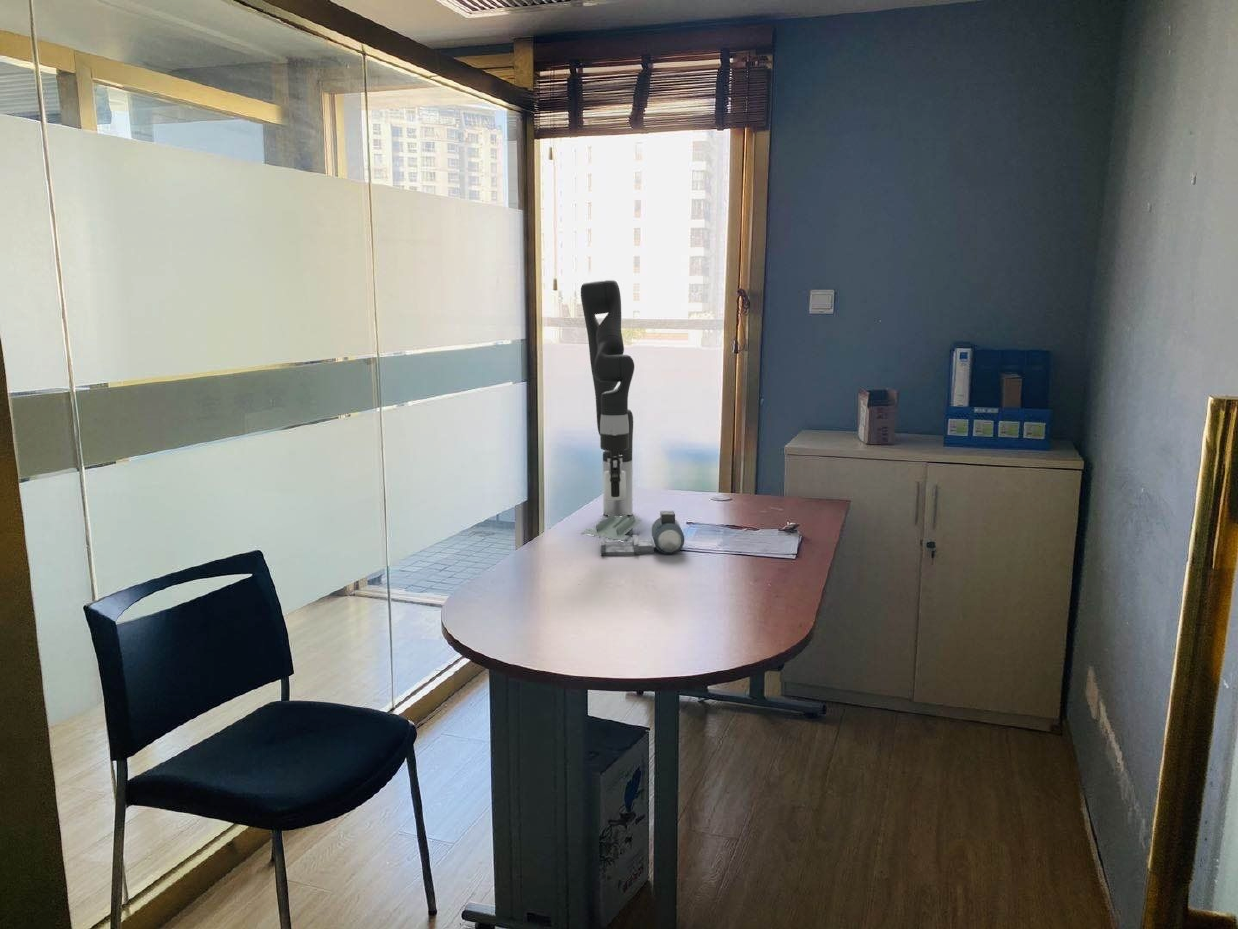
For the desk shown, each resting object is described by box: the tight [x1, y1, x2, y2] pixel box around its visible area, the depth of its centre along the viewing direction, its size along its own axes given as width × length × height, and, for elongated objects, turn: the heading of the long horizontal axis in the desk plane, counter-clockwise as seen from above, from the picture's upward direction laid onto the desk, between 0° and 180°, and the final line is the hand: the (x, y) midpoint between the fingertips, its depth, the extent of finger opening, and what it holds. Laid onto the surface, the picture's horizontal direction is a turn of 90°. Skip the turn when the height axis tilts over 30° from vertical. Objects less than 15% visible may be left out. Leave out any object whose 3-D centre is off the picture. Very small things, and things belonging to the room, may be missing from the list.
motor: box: [600, 510, 686, 557], centre depth 238 cm, size 11×22×10 cm, turn 92°
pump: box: [604, 471, 626, 500], centre depth 236 cm, size 6×6×9 cm
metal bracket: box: [581, 513, 642, 542], centre depth 257 cm, size 14×6×15 cm
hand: (615, 493), depth 236 cm, fingers closed on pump, 5 cm apart
